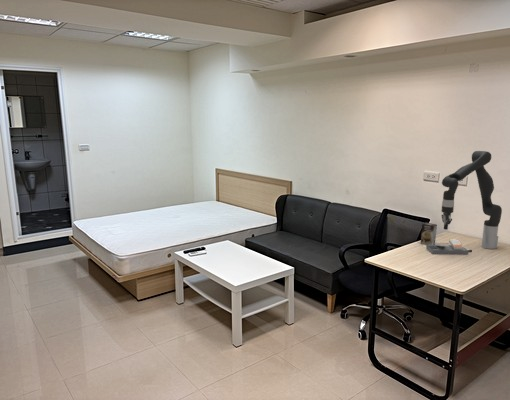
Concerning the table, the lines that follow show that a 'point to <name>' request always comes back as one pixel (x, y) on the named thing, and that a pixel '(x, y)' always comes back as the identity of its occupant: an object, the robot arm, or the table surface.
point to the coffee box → (428, 233)
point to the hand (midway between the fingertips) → (445, 229)
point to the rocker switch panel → (446, 250)
